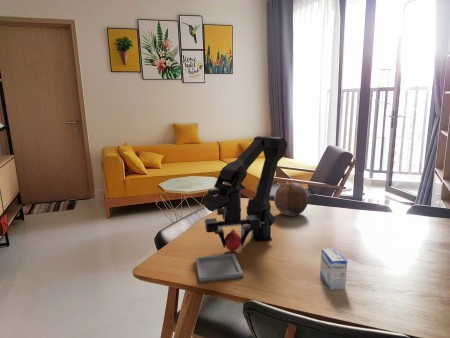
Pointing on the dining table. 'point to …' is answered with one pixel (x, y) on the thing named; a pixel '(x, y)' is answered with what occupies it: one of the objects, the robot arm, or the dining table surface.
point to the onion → (232, 241)
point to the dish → (218, 268)
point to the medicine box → (333, 268)
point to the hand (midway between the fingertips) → (232, 246)
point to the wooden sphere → (291, 199)
